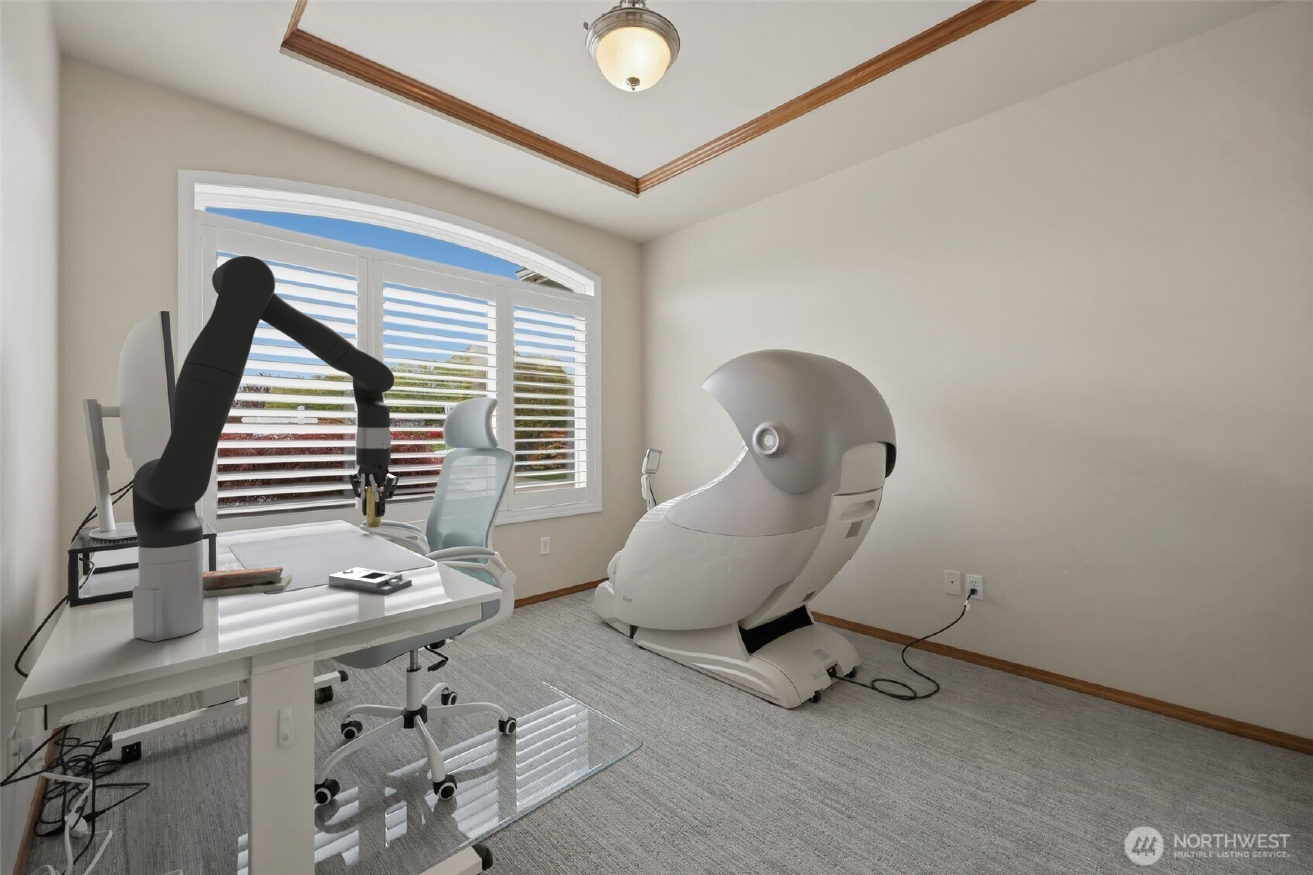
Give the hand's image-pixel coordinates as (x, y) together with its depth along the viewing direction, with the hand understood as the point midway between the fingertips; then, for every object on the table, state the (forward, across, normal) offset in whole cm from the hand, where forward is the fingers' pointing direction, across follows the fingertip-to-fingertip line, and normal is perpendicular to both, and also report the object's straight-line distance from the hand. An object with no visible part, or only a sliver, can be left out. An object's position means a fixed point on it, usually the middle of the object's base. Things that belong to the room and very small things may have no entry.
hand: (373, 515), depth 134 cm
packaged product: (+18, -26, -13) cm, 34 cm away
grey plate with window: (+17, 0, 0) cm, 17 cm away
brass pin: (+3, 0, 0) cm, 3 cm away
